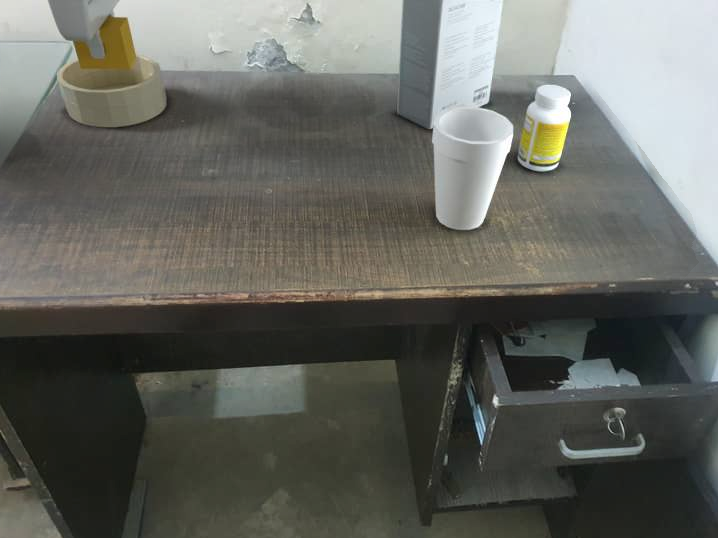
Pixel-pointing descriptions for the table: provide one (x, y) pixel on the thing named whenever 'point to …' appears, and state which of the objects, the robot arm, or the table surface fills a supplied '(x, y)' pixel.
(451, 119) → the foam cup
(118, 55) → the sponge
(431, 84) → the hard drive box
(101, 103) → the bowl
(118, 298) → the table surface
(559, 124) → the pill bottle
